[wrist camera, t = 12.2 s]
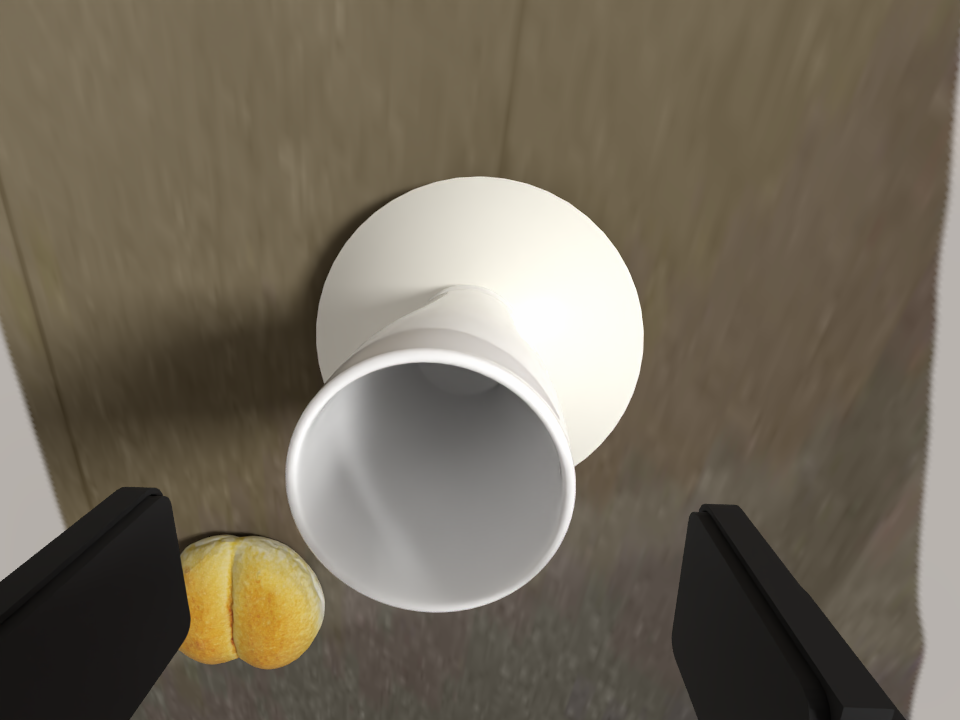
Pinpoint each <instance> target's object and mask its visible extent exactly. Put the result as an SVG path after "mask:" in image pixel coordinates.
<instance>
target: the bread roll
mask: <svg viewBox="0 0 960 720" xmlns="http://www.w3.org/2000/svg"><path fill="white" fill-rule="evenodd" d="M180 557H181V563H182V569H183V575H184V581H185V586H186V592H187V598H188V604H189V610H190V615H191V623H190V628H189V632H188V635H187V637H186V639H185V640H184V642H183V643H182V645H181V646H180V648H179V650H180V651H181V652H183V653H184V654H185V655H187V656H188V657H190V658H192V659H194V660H196V661H198V662H201V663H205V664H218V663H224V662H227V661H230V660H233V659H237V658H240V659H242V660H244V661H245V662H247V663H248V664H250V665H252V666H254V667H257V668H261V669H275V668H279V667H282V666H285V665H287V664H289V663H291V662H292V661H294V660H296V659H297V658H299V657H300V656H301V655H302V654H303V652H305V651H306V650H307V649H308V648H309V646H310V645H311V643H312V641H313V640H314V638H315V636H316V635H317V633H318V631H319V629H320V627H321V625H322V621H323V618H324V609H325V600H324V595H323V591H322V588H321V585H320V583H319V581H318V579H317V577H316V575H315V573H314V572H313V571H312V569H311V568H310V567H309V565H308V564H307V563H306V562H305V561H304V560H303V559H302V558H301V557H300V556H299V555H298V554H297V553H296V552H295V551H294V550H293V549H291V548H290V547H289V546H287V545H285V544H283V543H280V542H279V541H276V540H273V539H270V538H266V537H260V536H246V537H237V536H234V535H217V536H211V537H208V538H204V539H202V540H200V541H197V542H195V543H193V544H190V545H189V546H188V547H186V548H185V550H184V551H183V552H182V554H181V555H180Z"/></svg>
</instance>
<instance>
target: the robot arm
mask: <svg viewBox="0 0 960 720" xmlns="http://www.w3.org/2000/svg"><path fill="white" fill-rule="evenodd" d="M190 623H191V615H190V610H189V604H188V598H187V592H186V586H185V581H184V575H183V569H182V563H181V557H180V552H179V546H178V540H177V534H176V528H175V523H174V517H173V511H172V505H171V502H170V500H169V498H168V497H166V496H163V494H162V493H161V491H160V490H159V489H157V488H144V487H122V488H120V489H118V490H116V491H115V492H114V493H113V494H111V495H110V496H109V497H108V498H106V499H105V500H104V501H102V502H101V503H100V504H99V505H97V506H96V507H95V508H94V509H92V510H91V511H90V512H88V513H87V514H86V515H85V516H83V517H82V518H81V519H80V520H78V521H77V522H76V523H74V524H73V525H72V526H71V527H69V528H68V529H67V530H66V531H64V532H63V533H62V534H61V535H59V536H58V537H57V538H55V539H54V540H53V541H52V542H50V543H49V544H48V545H46V546H45V547H44V548H43V549H41V550H40V551H39V552H38V553H36V554H35V555H34V556H33V557H31V558H30V559H29V560H27V561H26V562H25V563H24V564H22V565H21V566H20V567H19V568H17V569H16V570H15V571H13V572H12V573H11V574H10V575H8V576H7V577H6V578H5V579H3V580H2V581H1V582H0V720H130V718H131V717H132V715H133V714H134V712H135V711H136V710H137V708H138V707H139V705H140V704H141V702H142V701H143V699H144V698H145V697H146V695H147V694H148V692H149V691H150V689H151V688H152V687H153V685H154V684H155V682H156V681H157V679H158V678H159V676H160V675H161V674H162V672H163V671H164V669H165V668H166V666H167V665H168V664H169V662H170V661H171V659H172V658H173V656H174V655H175V653H176V652H177V651H178V649H179V648H180V646H181V645H182V643H183V642H184V640H185V639H186V637H187V635H188V632H189V628H190ZM672 647H673V653H674V656H675V660H676V662H677V665H678V667H679V670H680V673H681V675H682V678H683V681H684V683H685V686H686V689H687V691H688V694H689V696H690V699H691V702H692V704H693V707H694V710H695V712H696V715H697V717H698V720H906V719H905V718H904V717H903V716H902V714H901V713H900V712H899V710H898V709H897V708H896V707H895V705H894V704H893V703H892V701H891V700H890V699H889V697H888V696H887V695H886V694H885V692H884V691H883V690H882V688H881V687H880V686H879V684H878V683H877V682H876V681H875V679H874V678H873V677H872V675H871V674H870V673H869V672H868V670H867V669H866V668H865V666H864V665H863V664H862V662H861V661H860V660H859V659H858V657H857V656H856V655H855V653H854V652H853V651H852V650H851V648H850V647H849V646H848V644H847V643H846V642H845V640H844V639H843V638H842V637H841V635H840V634H839V633H838V631H837V630H836V629H835V628H834V626H833V625H832V624H831V622H830V621H829V620H828V618H827V617H826V616H825V615H824V613H823V612H822V611H821V609H820V608H819V607H818V605H817V604H816V603H815V602H814V600H813V599H812V598H811V596H810V595H809V594H808V593H807V592H806V591H805V590H804V589H803V588H802V587H801V586H800V585H799V583H798V582H797V581H796V580H795V578H794V577H793V576H792V574H791V573H790V572H789V570H788V569H787V568H786V567H785V565H784V564H783V563H782V561H781V560H780V559H779V557H778V556H777V555H776V553H775V552H774V551H773V550H772V548H771V547H770V546H769V544H768V543H767V542H766V540H765V539H764V538H763V537H762V535H761V534H760V533H759V531H758V530H757V529H756V527H755V526H754V525H753V523H752V522H751V521H750V520H749V518H748V517H747V516H746V514H745V513H744V512H743V510H742V509H741V508H740V507H739V506H738V505H723V504H703V505H702V506H701V508H700V509H699V512H692V513H691V514H690V516H689V521H688V528H687V534H686V541H685V548H684V555H683V562H682V569H681V575H680V582H679V589H678V596H677V603H676V610H675V616H674V623H673V630H672Z"/></svg>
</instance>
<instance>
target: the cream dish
mask: <svg viewBox="0 0 960 720" xmlns="http://www.w3.org/2000/svg"><path fill="white" fill-rule="evenodd" d="M457 285H477V286H481V287H485V288H488V289H490V290H492V291H494V292H496V293H498V294H499V295H501V296H502V297H503V298H504V299H506V300H507V301H508V302H509V303H510V305H511V306H512V307H513V308H514V310H515V311H516V313H517V315H518V317H519V319H520V321H521V324H522V328H523V330H524V332H525V333H526V335H527V337H528V338H529V340H530V341H531V343H532V345H533V346H534V348H535V349H536V351H537V353H538V354H539V356H540V358H541V359H542V361H543V363H544V365H545V366H546V368H547V370H548V372H549V374H550V376H551V379H552V381H553V383H554V385H555V388H556V391H557V393H558V396H559V399H560V402H561V405H562V408H563V412H564V416H565V420H566V425H567V429H568V433H569V438H570V444H571V451H572V458H573V462H574V466H576V465H577V464H578V463H580V462H581V461H583V460H584V459H585V458H587V457H588V456H589V455H590V454H591V453H592V452H593V451H594V450H595V449H596V448H597V447H598V446H599V445H601V443H602V442H603V441H604V440H605V439H606V437H607V436H608V435H609V434H610V433H611V431H612V430H613V429H614V428H615V426H616V424H617V423H618V421H619V420H620V418H621V417H622V415H623V413H624V412H625V410H626V408H627V405H628V403H629V401H630V399H631V397H632V395H633V392H634V389H635V386H636V383H637V379H638V376H639V373H640V367H641V361H642V355H643V333H644V331H643V322H642V312H641V307H640V303H639V299H638V295H637V291H636V288H635V286H634V283H633V281H632V278H631V276H630V273H629V271H628V268H627V267H626V265H625V263H624V261H623V260H622V258H621V256H620V254H619V253H618V251H617V249H616V248H615V247H614V245H613V244H612V243H611V242H610V240H609V239H608V238H607V236H606V235H605V234H604V233H603V231H601V230H600V229H599V228H598V227H597V226H596V225H595V224H594V223H593V222H592V221H591V220H590V219H589V218H588V217H587V216H586V215H584V214H583V213H582V212H580V211H579V210H578V209H576V208H575V207H574V206H572V205H571V204H570V203H568V202H566V201H564V200H563V199H561V198H559V197H557V196H555V195H553V194H552V193H550V192H548V191H545V190H542V189H540V188H537V187H534V186H532V185H529V184H526V183H522V182H517V181H513V180H508V179H504V178H492V177H462V178H454V179H449V180H443V181H438V182H434V183H431V184H428V185H425V186H422V187H419V188H416V189H414V190H411V191H409V192H408V193H406V194H404V195H402V196H400V197H398V198H396V199H394V200H392V201H391V202H389V203H388V204H386V205H385V206H383V207H382V208H381V209H379V210H378V211H376V212H375V213H374V214H373V215H372V216H370V217H369V218H368V219H367V220H366V221H365V222H364V223H363V224H362V225H361V226H360V227H359V228H358V229H357V230H356V231H355V232H354V234H353V235H352V236H351V237H350V239H349V240H348V241H347V242H346V243H345V245H344V246H343V248H342V250H341V251H340V253H339V255H338V256H337V258H336V259H335V261H334V263H333V265H332V267H331V270H330V272H329V274H328V276H327V279H326V281H325V284H324V287H323V291H322V295H321V298H320V302H319V308H318V315H317V323H316V346H317V353H318V361H319V367H320V370H321V374H322V378H323V381H324V384H325V383H326V381H327V380H328V379H329V378H330V376H331V375H332V374H333V373H334V372H335V371H336V370H337V368H338V367H339V366H340V365H341V364H342V363H343V362H344V361H345V359H346V358H347V357H348V356H349V355H350V354H352V353H353V352H354V351H355V350H356V349H357V348H358V347H359V346H360V345H361V344H362V343H363V342H365V341H366V340H367V339H368V338H369V337H371V336H372V335H373V334H375V333H376V332H377V331H379V330H380V329H382V328H383V327H385V326H386V325H388V324H390V323H391V322H393V321H395V320H396V319H398V318H400V317H401V316H403V315H405V314H407V313H409V312H411V311H412V310H414V309H416V308H418V307H420V306H421V305H423V304H425V303H426V302H427V301H428V300H429V299H430V298H431V297H432V296H434V295H435V294H437V293H438V292H440V291H442V290H444V289H446V288H449V287H453V286H457Z"/></svg>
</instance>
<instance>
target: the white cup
mask: <svg viewBox="0 0 960 720" xmlns="http://www.w3.org/2000/svg"><path fill="white" fill-rule="evenodd" d="M285 478H286V491H287V497H288V502H289V506H290V509H291V513H292V516H293V518H294V521H295V523H296V526H297V528H298V530H299V532H300V534H301V536H302V538H303V539H304V541H305V542H306V544H307V546H308V547H309V549H310V550H311V551H312V552H313V554H314V555H315V556H316V558H317V559H318V560H319V561H320V562H321V563H322V564H323V565H324V566H325V567H326V568H327V569H328V570H329V571H330V572H331V573H332V574H333V575H334V576H336V577H337V578H338V579H340V580H341V581H342V582H344V583H345V584H346V585H348V586H349V587H351V588H353V589H354V590H356V591H357V592H359V593H361V594H363V595H365V596H367V597H369V598H371V599H374V600H376V601H379V602H381V603H384V604H387V605H390V606H393V607H398V608H402V609H406V610H413V611H419V612H453V611H461V610H467V609H472V608H476V607H479V606H483V605H486V604H489V603H491V602H494V601H497V600H499V599H501V598H503V597H505V596H507V595H509V594H511V593H512V592H514V591H516V590H517V589H519V588H521V587H522V586H523V585H525V584H526V583H527V582H529V581H530V580H531V579H532V578H533V577H534V576H536V575H537V574H538V573H539V572H540V571H541V570H542V569H543V568H544V567H545V565H546V564H547V563H548V562H549V561H550V559H551V558H552V557H553V555H554V554H555V553H556V551H557V549H558V548H559V546H560V544H561V543H562V541H563V538H564V536H565V534H566V532H567V530H568V527H569V524H570V521H571V518H572V513H573V509H574V503H575V494H576V477H575V468H574V462H573V458H572V451H571V444H570V438H569V433H568V429H567V425H566V420H565V416H564V412H563V408H562V405H561V402H560V399H559V396H558V393H557V391H556V388H555V385H554V383H553V381H552V379H551V376H550V374H549V372H548V370H547V368H546V366H545V365H544V363H543V361H542V359H541V358H540V356H539V354H538V353H537V351H536V349H535V348H534V346H533V345H532V343H531V341H530V340H529V338H528V337H527V335H526V333H525V332H524V330H523V328H522V324H521V321H520V319H519V317H518V315H517V313H516V311H515V310H514V308H513V307H512V306H511V305H510V303H509V302H508V301H507V300H506V299H504V298H503V297H502V296H501V295H499V294H498V293H496V292H494V291H492V290H490V289H488V288H485V287H481V286H477V285H457V286H453V287H449V288H446V289H444V290H442V291H440V292H438V293H437V294H435V295H434V296H432V297H431V298H430V299H429V300H428V301H427V302H426V303H425V304H423V305H421V306H420V307H418V308H416V309H414V310H412V311H411V312H409V313H407V314H405V315H403V316H401V317H400V318H398V319H396V320H395V321H393V322H391V323H390V324H388V325H386V326H385V327H383V328H382V329H380V330H379V331H377V332H376V333H375V334H373V335H372V336H371V337H369V338H368V339H367V340H366V341H365V342H363V343H362V344H361V345H360V346H359V347H358V348H357V349H356V350H355V351H354V352H353V353H352V354H350V355H349V356H348V357H347V358H346V359H345V361H344V362H343V363H342V364H341V365H340V366H339V367H338V368H337V370H336V371H335V372H334V373H333V374H332V375H331V376H330V378H329V379H328V380H327V381H326V383H325V384H324V385H323V386H322V388H321V389H320V390H319V392H318V393H317V394H316V395H315V396H314V398H313V399H312V400H311V401H310V403H309V404H308V406H307V407H306V408H305V410H304V411H303V413H302V415H301V417H300V419H299V421H298V422H297V424H296V427H295V429H294V432H293V434H292V437H291V441H290V444H289V448H288V453H287V459H286V472H285Z"/></svg>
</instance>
